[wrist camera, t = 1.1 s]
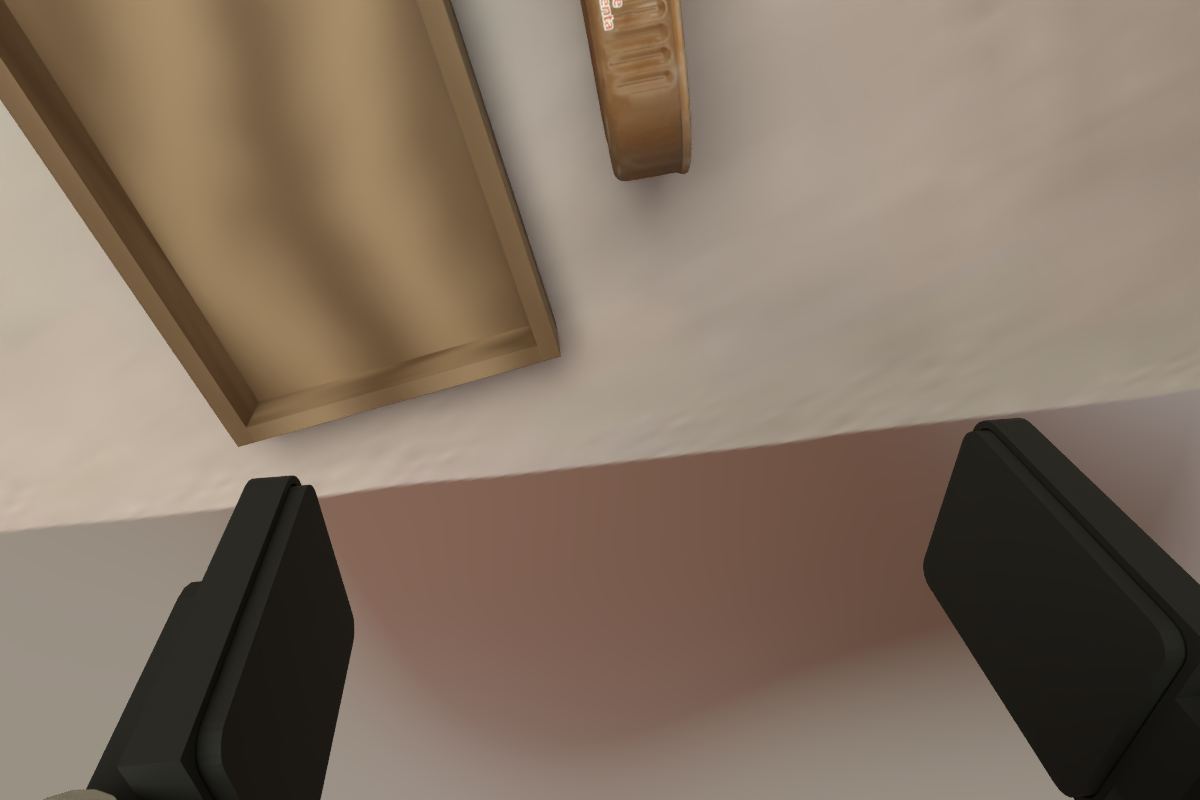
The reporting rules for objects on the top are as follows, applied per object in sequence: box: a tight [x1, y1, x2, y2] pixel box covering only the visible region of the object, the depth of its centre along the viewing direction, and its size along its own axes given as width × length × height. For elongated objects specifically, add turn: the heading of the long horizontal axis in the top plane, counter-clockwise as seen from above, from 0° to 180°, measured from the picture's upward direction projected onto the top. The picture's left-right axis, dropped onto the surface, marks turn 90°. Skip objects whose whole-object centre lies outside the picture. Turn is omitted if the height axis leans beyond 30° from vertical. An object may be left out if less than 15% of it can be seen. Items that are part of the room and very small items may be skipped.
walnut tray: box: [0, 0, 561, 447], centre depth 27 cm, size 15×21×3 cm
